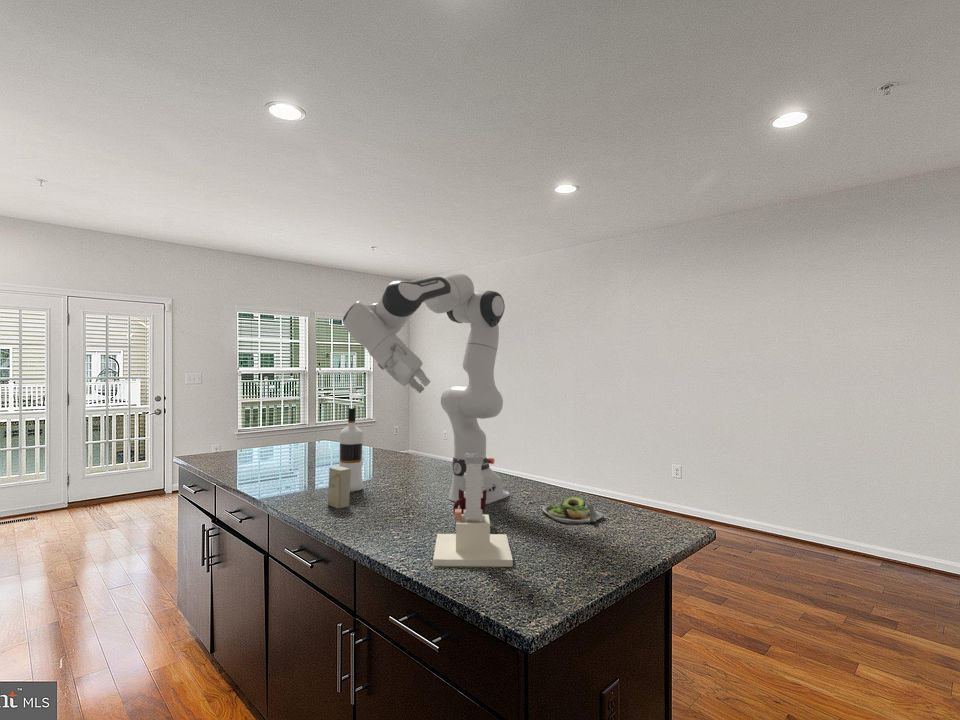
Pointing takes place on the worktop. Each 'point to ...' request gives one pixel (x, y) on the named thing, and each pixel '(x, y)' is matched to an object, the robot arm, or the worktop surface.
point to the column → (473, 487)
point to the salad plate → (572, 511)
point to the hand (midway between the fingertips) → (425, 387)
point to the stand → (472, 545)
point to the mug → (463, 500)
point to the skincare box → (339, 487)
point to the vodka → (352, 451)
